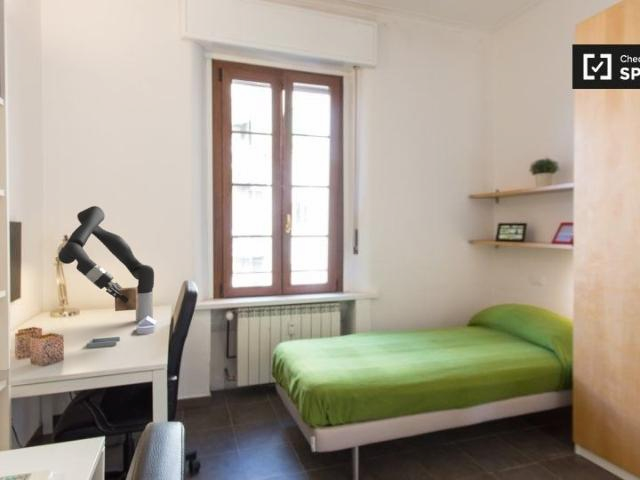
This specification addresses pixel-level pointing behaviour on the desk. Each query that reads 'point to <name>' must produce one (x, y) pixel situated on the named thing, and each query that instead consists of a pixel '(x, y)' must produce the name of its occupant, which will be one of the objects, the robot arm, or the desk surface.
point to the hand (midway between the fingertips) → (128, 300)
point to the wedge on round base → (146, 326)
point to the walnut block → (129, 294)
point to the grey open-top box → (103, 342)
